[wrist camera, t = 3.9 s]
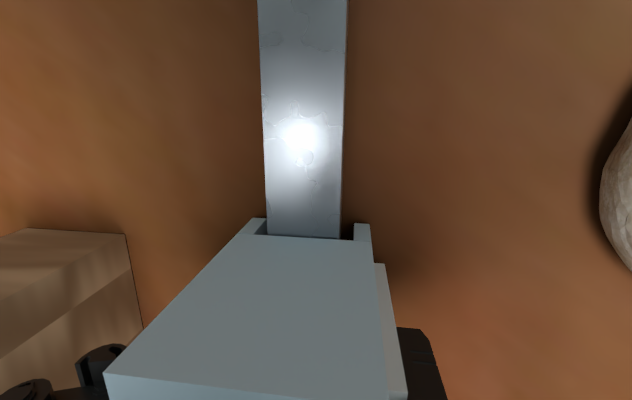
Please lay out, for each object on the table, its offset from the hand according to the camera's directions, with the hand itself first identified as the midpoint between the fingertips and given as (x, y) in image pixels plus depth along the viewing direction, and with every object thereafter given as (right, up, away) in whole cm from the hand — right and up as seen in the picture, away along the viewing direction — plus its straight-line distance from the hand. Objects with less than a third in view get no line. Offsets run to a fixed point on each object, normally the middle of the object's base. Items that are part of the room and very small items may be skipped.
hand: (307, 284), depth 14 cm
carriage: (0, 0, +1) cm, 1 cm away
